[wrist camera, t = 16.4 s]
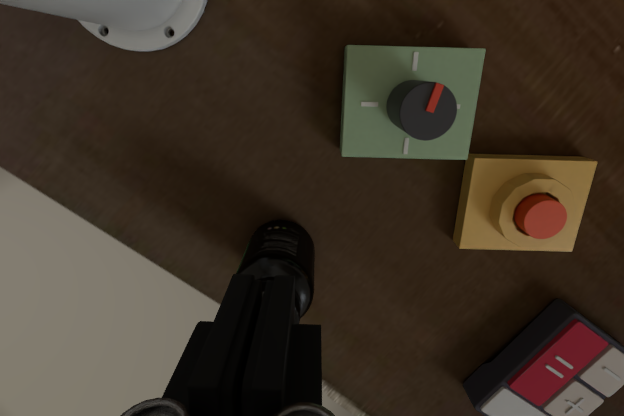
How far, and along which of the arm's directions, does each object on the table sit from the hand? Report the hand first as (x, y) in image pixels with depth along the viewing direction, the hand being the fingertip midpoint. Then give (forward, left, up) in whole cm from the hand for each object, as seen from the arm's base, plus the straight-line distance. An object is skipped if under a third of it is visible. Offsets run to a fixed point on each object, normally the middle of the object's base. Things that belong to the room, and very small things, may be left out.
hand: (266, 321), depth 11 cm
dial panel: (+9, +4, -27) cm, 29 cm away
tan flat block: (+21, -5, -27) cm, 35 cm away
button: (+21, -5, -23) cm, 32 cm away
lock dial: (+9, +4, -24) cm, 26 cm away
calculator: (+28, -25, -27) cm, 46 cm away
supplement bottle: (-2, -11, -27) cm, 30 cm away
